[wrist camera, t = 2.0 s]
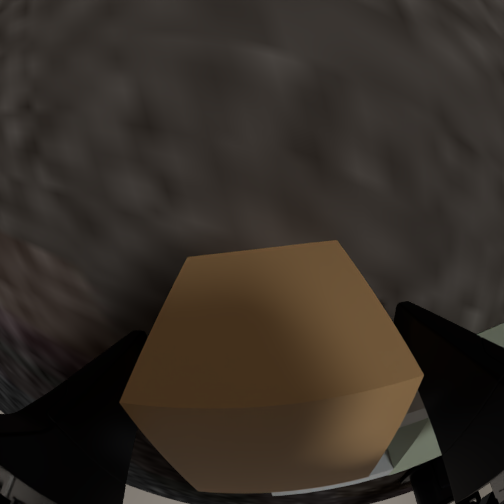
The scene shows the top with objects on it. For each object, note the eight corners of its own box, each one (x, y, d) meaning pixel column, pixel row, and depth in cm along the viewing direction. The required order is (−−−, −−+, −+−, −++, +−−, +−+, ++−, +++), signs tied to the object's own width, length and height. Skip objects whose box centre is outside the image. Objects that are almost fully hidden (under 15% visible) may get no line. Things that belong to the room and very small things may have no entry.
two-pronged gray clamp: (526, 311, 11) (567, 355, 6) (477, 404, 14) (499, 444, 10) (255, 383, 12) (254, 482, 7) (271, 462, 16) (273, 520, 11)
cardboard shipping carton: (333, 350, 11) (368, 476, 5) (216, 362, 11) (198, 491, 6) (336, 239, 9) (423, 375, 3) (187, 256, 9) (119, 402, 4)
